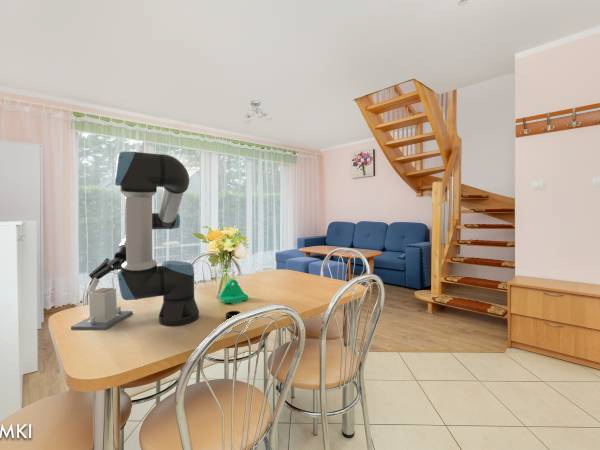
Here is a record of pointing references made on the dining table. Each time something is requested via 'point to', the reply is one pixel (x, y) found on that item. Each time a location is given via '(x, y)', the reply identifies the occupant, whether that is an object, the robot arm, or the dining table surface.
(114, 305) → the block
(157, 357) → the dining table surface
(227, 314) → the duct tape
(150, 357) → the dining table surface
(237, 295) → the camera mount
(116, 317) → the grey base plate
